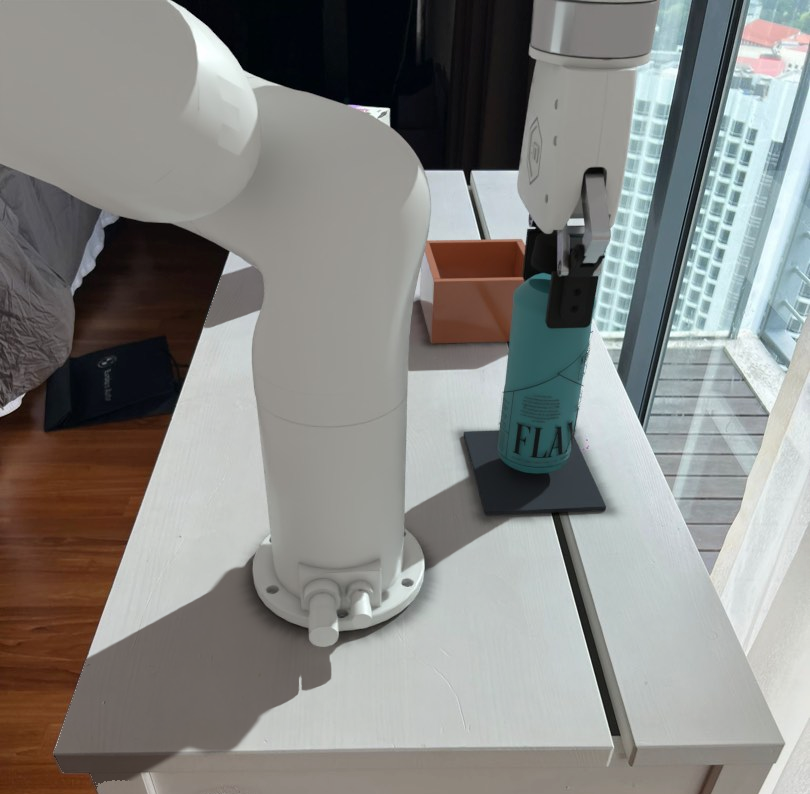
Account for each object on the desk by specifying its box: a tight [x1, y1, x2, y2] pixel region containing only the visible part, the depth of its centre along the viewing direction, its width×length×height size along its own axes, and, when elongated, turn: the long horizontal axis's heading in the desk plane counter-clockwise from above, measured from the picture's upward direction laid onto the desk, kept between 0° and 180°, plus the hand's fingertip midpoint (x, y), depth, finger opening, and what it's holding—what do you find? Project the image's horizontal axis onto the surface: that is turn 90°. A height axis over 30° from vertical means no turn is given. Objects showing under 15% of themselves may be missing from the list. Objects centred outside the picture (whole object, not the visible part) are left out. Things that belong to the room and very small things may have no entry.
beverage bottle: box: [496, 230, 597, 473], centre depth 66 cm, size 6×7×20 cm
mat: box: [463, 429, 607, 516], centre depth 73 cm, size 12×10×1 cm
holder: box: [419, 238, 526, 345], centre depth 94 cm, size 12×12×7 cm
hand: (554, 300), depth 63 cm, fingers open, 7 cm apart
